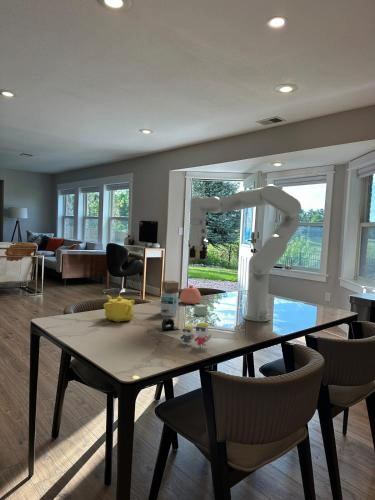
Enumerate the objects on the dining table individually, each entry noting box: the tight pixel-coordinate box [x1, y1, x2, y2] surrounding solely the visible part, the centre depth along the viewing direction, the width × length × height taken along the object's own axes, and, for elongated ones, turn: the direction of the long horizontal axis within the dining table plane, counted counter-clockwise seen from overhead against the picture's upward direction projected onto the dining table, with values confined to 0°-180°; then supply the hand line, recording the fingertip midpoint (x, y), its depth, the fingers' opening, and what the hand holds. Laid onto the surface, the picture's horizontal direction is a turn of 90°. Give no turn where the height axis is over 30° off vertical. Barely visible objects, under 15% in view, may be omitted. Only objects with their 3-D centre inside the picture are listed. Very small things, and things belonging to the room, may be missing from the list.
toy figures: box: [180, 322, 212, 350], centre depth 128 cm, size 12×4×8 cm, turn 56°
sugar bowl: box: [179, 284, 202, 305], centre depth 204 cm, size 12×14×10 cm
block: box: [161, 280, 180, 293], centre depth 174 cm, size 6×6×5 cm
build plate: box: [154, 318, 181, 333], centre depth 147 cm, size 12×7×5 cm, turn 119°
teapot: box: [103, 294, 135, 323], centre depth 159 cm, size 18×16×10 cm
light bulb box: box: [160, 290, 180, 317], centre depth 175 cm, size 11×7×11 cm, turn 171°
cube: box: [193, 304, 208, 317], centre depth 176 cm, size 4×4×4 cm
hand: (197, 258), depth 175 cm, fingers open, 9 cm apart
